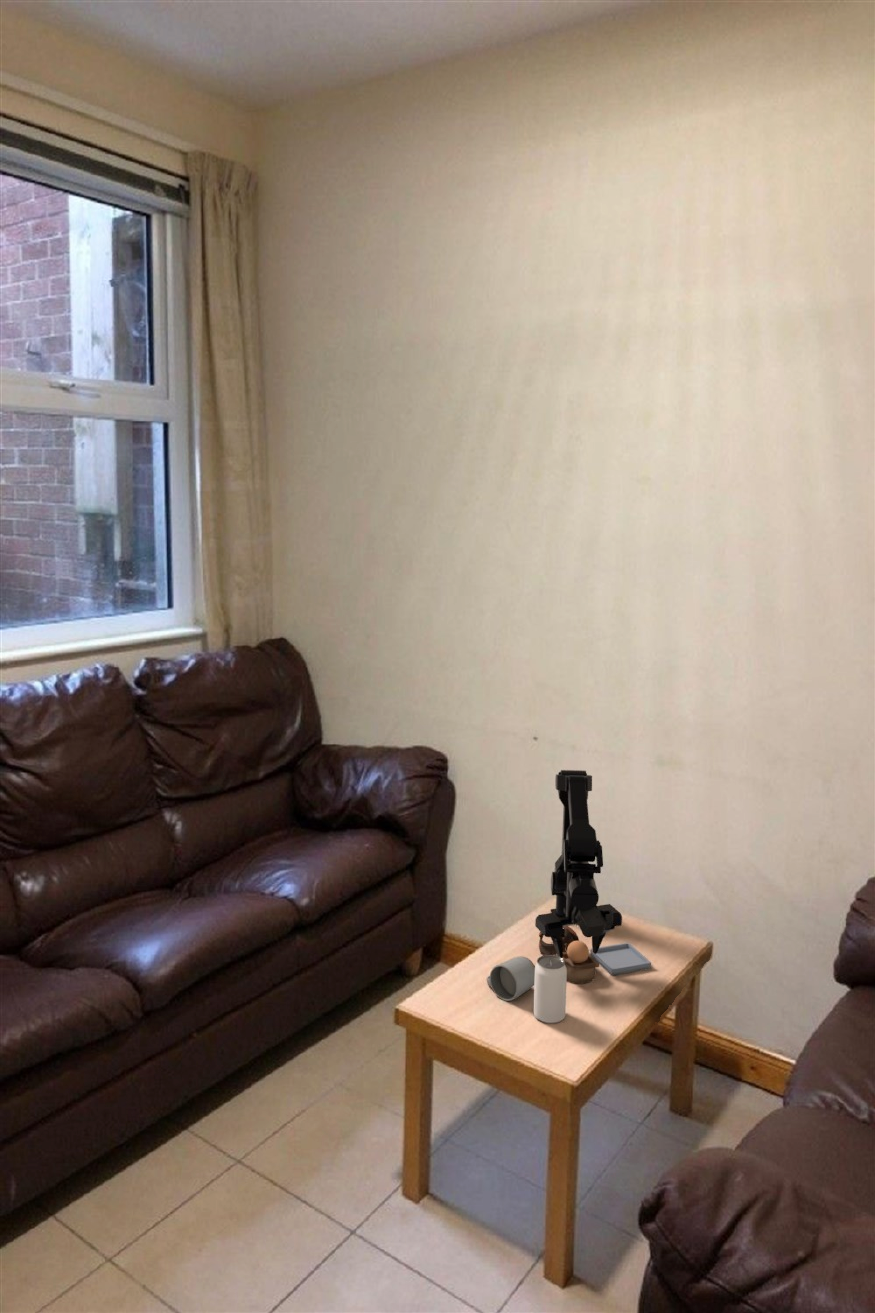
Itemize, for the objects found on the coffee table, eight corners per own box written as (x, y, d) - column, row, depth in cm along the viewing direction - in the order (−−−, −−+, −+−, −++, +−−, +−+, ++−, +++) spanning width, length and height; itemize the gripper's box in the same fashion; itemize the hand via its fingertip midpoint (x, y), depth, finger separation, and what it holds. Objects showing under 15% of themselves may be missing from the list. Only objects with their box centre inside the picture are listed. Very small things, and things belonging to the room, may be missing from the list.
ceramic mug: (539, 991, 200) (540, 958, 199) (516, 1006, 194) (517, 972, 193) (501, 975, 207) (501, 942, 206) (477, 989, 201) (477, 956, 200)
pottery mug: (589, 962, 214) (576, 938, 210) (551, 978, 215) (538, 955, 211) (576, 926, 225) (563, 903, 221) (540, 942, 226) (527, 919, 222)
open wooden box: (552, 968, 210) (553, 953, 209) (584, 963, 213) (585, 947, 212) (569, 986, 203) (569, 970, 202) (601, 980, 205) (602, 964, 204)
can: (570, 1012, 192) (572, 959, 190) (557, 1028, 187) (559, 972, 185) (541, 1003, 196) (542, 950, 194) (528, 1018, 190) (529, 964, 188)
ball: (562, 958, 208) (563, 938, 208) (582, 955, 210) (582, 935, 209) (572, 968, 204) (573, 948, 203) (592, 965, 206) (593, 945, 205)
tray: (590, 954, 216) (590, 948, 216) (628, 948, 219) (628, 942, 219) (611, 975, 207) (611, 969, 207) (651, 968, 210) (651, 962, 210)
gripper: (557, 911, 193) (555, 980, 196) (636, 899, 199) (633, 966, 202) (535, 889, 204) (533, 956, 207) (610, 879, 210) (608, 943, 213)
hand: (577, 956), depth 207 cm, fingers open, 8 cm apart
